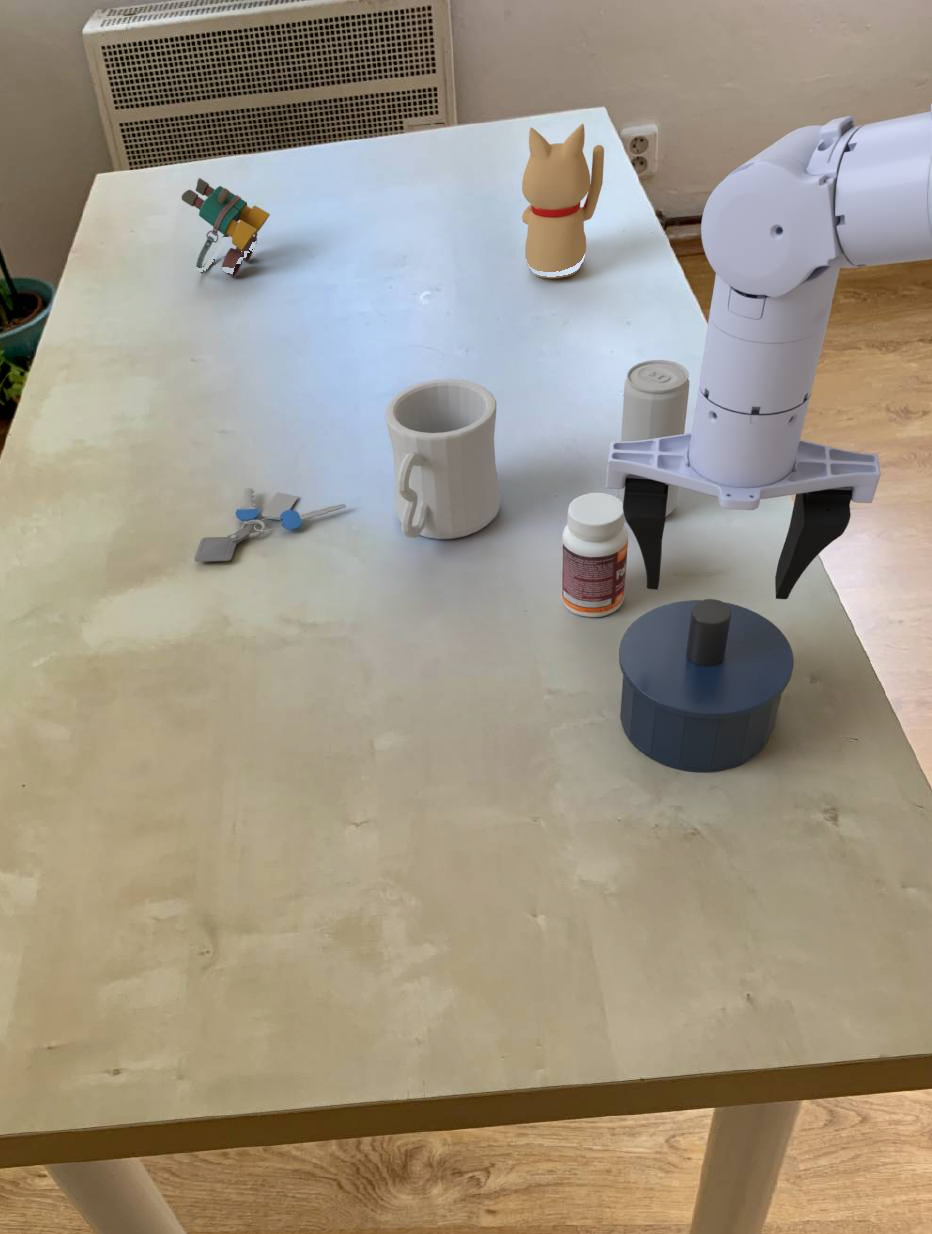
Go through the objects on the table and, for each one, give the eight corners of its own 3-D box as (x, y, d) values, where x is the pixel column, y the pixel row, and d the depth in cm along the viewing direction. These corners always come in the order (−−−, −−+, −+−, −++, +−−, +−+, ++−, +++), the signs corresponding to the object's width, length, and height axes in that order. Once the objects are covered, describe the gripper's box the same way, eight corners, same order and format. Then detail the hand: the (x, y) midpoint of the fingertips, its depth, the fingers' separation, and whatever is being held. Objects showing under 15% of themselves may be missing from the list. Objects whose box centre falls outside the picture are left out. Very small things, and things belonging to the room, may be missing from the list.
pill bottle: (628, 616, 82) (635, 525, 76) (564, 621, 83) (566, 530, 77) (619, 577, 85) (625, 485, 79) (558, 581, 86) (559, 491, 80)
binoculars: (222, 303, 131) (249, 232, 124) (155, 260, 130) (178, 186, 122) (251, 268, 137) (279, 199, 129) (187, 227, 136) (211, 154, 128)
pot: (805, 724, 73) (820, 665, 69) (693, 796, 70) (703, 739, 66) (696, 647, 79) (704, 589, 75) (590, 710, 76) (592, 653, 72)
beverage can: (641, 484, 93) (652, 352, 84) (688, 505, 91) (704, 371, 82) (604, 510, 91) (611, 378, 83) (650, 532, 89) (662, 398, 80)
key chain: (205, 575, 92) (202, 567, 91) (166, 529, 97) (164, 521, 96) (348, 511, 95) (346, 503, 95) (304, 470, 101) (302, 463, 100)
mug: (423, 473, 98) (414, 370, 91) (517, 491, 95) (515, 385, 87) (359, 554, 91) (343, 449, 84) (458, 576, 88) (451, 470, 80)
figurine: (599, 245, 125) (605, 101, 114) (599, 284, 119) (605, 135, 108) (524, 249, 127) (523, 107, 116) (520, 288, 120) (518, 141, 109)
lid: (828, 673, 69) (843, 616, 66) (702, 752, 66) (711, 697, 63) (704, 591, 76) (711, 535, 72) (584, 659, 73) (586, 605, 69)
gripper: (609, 421, 57) (592, 617, 67) (909, 435, 54) (843, 637, 64) (619, 351, 61) (602, 544, 71) (897, 360, 58) (837, 560, 68)
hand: (716, 583), depth 68 cm, fingers open, 7 cm apart
